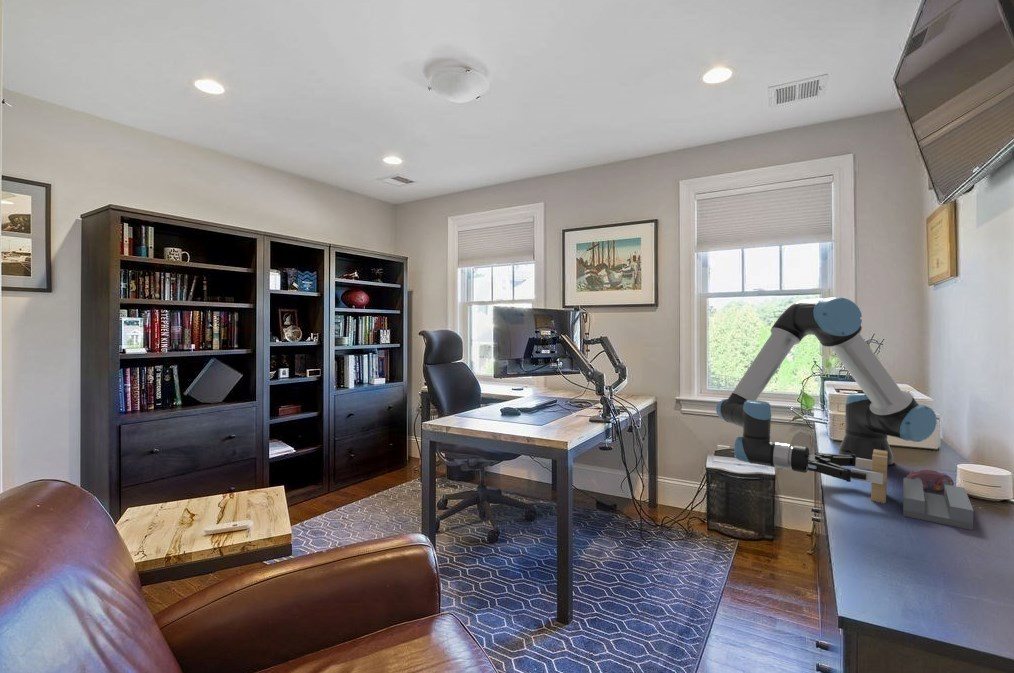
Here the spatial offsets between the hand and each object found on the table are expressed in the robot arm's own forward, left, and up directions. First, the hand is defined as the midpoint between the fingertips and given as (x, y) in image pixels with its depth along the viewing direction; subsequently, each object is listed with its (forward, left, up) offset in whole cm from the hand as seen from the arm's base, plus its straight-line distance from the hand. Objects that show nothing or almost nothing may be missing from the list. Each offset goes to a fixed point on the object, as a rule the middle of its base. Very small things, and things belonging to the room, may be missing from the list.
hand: (884, 472), depth 124 cm
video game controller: (-18, +10, -7) cm, 22 cm away
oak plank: (0, -1, -7) cm, 7 cm away
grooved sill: (+2, +10, -7) cm, 12 cm away
